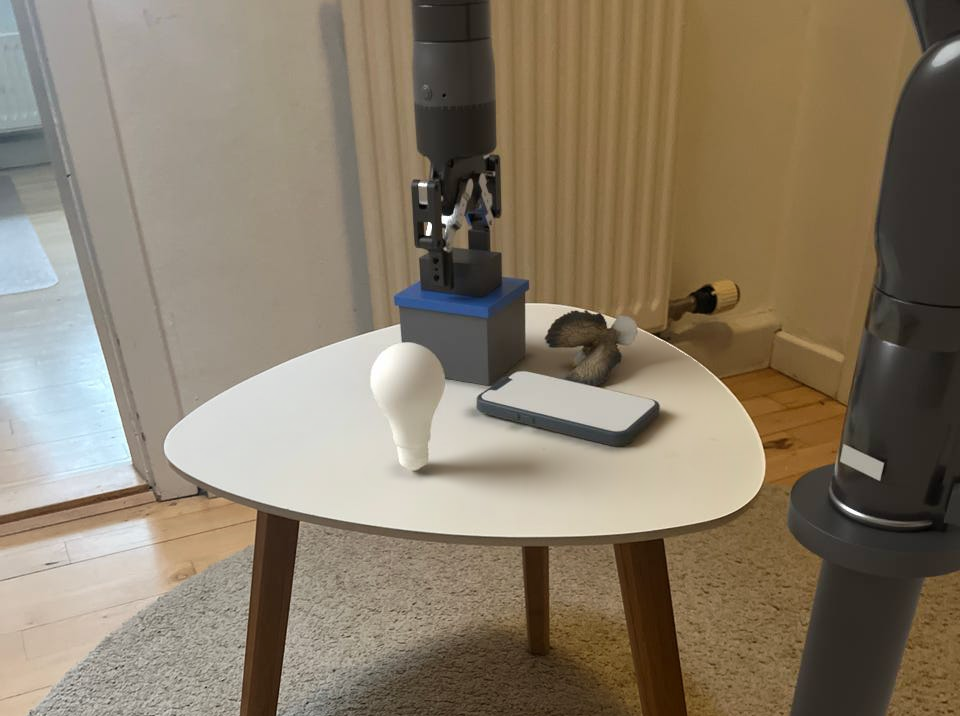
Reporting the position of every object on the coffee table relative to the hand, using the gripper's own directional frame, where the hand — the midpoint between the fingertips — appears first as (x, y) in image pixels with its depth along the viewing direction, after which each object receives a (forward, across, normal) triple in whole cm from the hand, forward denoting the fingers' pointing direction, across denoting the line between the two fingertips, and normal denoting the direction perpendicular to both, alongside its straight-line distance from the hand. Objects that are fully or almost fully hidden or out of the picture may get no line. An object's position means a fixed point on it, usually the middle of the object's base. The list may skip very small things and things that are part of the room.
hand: (462, 278), depth 99 cm
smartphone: (+9, -8, -15) cm, 19 cm away
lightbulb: (+9, -24, -7) cm, 26 cm away
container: (+9, 0, 0) cm, 9 cm away
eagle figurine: (+9, +3, -13) cm, 16 cm away
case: (+1, 0, 0) cm, 1 cm away
